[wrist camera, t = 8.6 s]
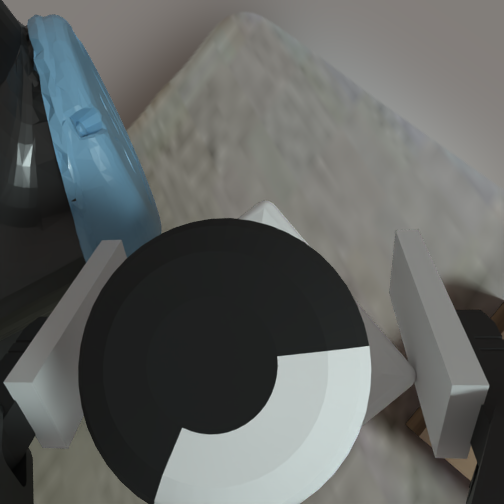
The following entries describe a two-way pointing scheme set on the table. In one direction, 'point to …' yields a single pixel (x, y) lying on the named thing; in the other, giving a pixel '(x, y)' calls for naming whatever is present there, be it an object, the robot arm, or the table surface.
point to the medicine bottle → (231, 365)
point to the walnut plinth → (418, 425)
